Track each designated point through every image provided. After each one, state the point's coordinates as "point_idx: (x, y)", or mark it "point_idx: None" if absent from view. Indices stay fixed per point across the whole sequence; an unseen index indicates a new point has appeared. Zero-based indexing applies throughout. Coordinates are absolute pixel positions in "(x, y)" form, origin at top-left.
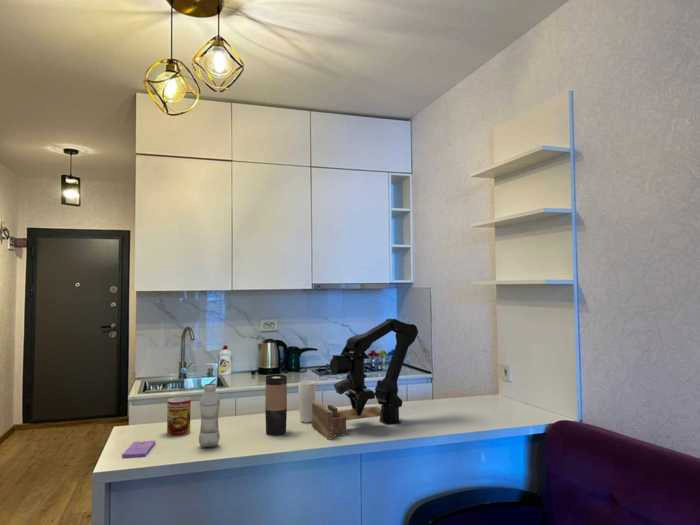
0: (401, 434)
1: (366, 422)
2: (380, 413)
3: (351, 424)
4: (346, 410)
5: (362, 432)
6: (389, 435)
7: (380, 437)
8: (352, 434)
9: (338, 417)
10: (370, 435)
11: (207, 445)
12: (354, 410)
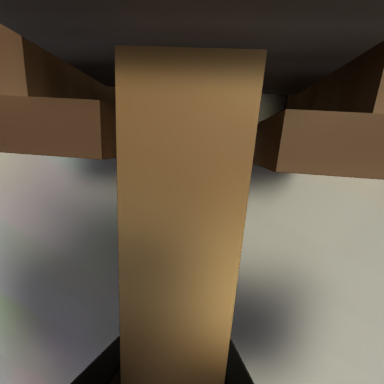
0: (19, 371)
1: (274, 361)
2: None
3: (287, 278)
4: (189, 274)
5: (110, 251)
6: (20, 327)
7: (3, 280)
8: (96, 185)
9: (13, 52)
10: (47, 258)
11: None
12: (139, 353)
